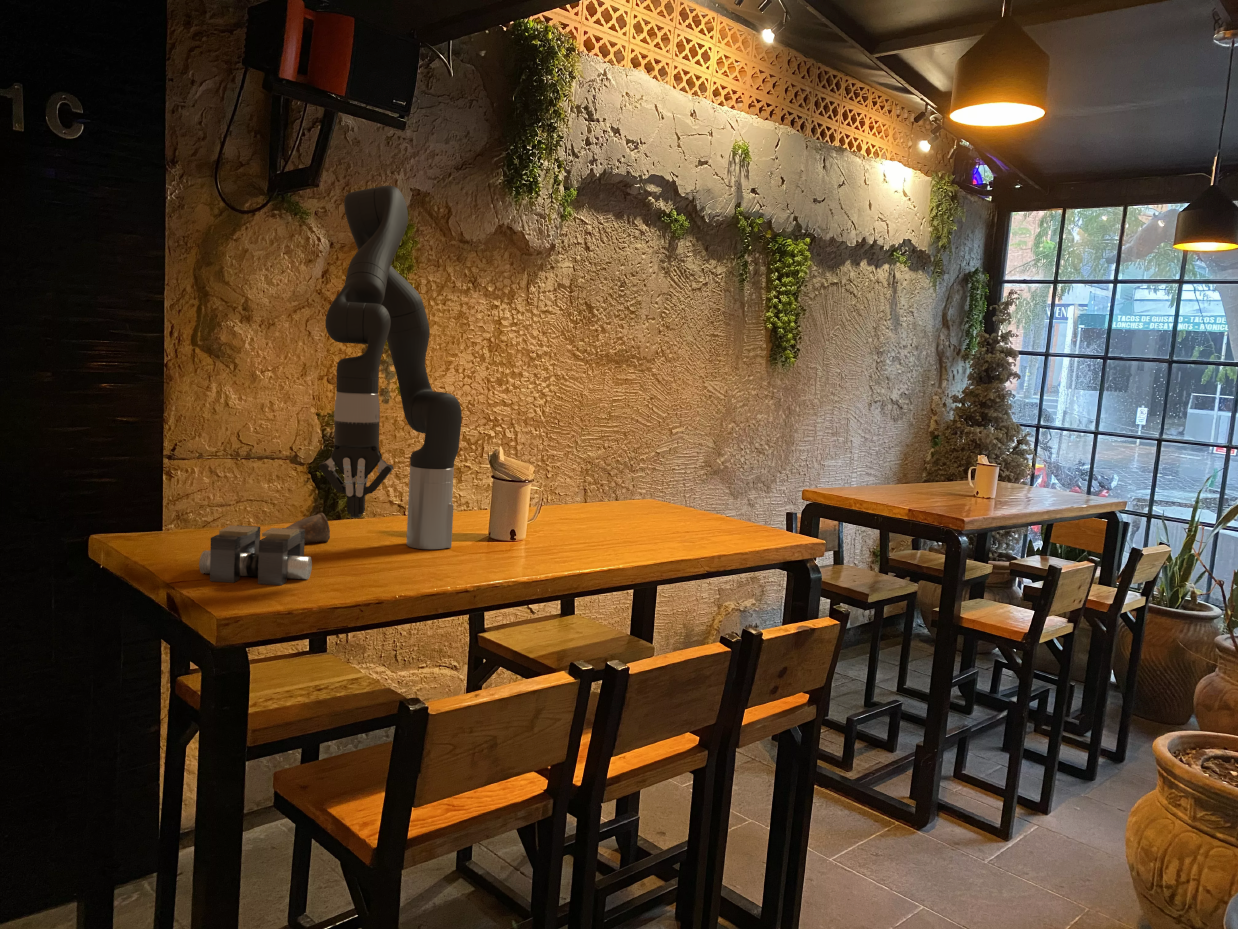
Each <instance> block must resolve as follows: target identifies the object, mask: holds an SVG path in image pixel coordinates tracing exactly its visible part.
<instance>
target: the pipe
mask: <svg viewBox="0 0 1238 929" xmlns="http://www.w3.org/2000/svg"><path fill="white" fill-rule="evenodd" d="M329 524H330V523H329V521H328V518H327V516H326V515H325V514H324V513H323V512H319V513H317V514H315V515H311V516H308V517H305V518H302V519H300V520H297V521H295V522H293V523H291V524H290V525H288V526H287V527H285V528H292V529H305V542H304V545H305V544H315V543H328V542H329V540H330V539H331V538H330V537H331V529H330V525H329Z"/></svg>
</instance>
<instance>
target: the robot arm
mask: <svg viewBox="0 0 1238 929" xmlns="http://www.w3.org/2000/svg"><path fill="white" fill-rule="evenodd" d="M343 200H344V201H343V202H344V204H343V205H344V213H345V217H346V221H347V224H348V227H349V230H350V233H351V236H352V238H353V241H354V243H355V245H356V249H357V251H356V253H355V254H354V256H353V257H352V258H351V260H350V262H349V264H348V267H347V272H346V276H345V282H344V285H343V287H342V288H341V290H340V291H339V293H338V294H337V295H336V297H335V298H334V299H333V301H332V302H331V303H330V306H329V307H328V309H327V313H326V316H325V330H326V333H327V334H328V336H329V337H330V339H331V340H333V341H335V342H337V343H340V344H352V345H353V344H356V345H367V348H366V350H365V351H364V352H363V353H362V354H361V355H358V356H357V355H356V356H350V357H349V356H348V357H345V358H340V359H339V360H338V362H337V364H336V386H335V388H336V390H335V392H336V393H335V394H336V395H335V401H334V411H333V419H334V429H333V430H334V433H333V434H334V435H333V436H334V438H333V445H334V446H333V450H332V452H331V454H330V458H328V459H327V460H326V461H323V462H321V463H320V464H318V469H319V470H320V472H321V473H322V475H324V477H325V478H326V480H327V481H328V482H329V484H330V485H331V486H332V487H333V489H334V490H335V491H336V492H337V493H340V494H341V493H342V494H344V495H345V496H346V513H347V515H350V518H354V519H355V518H356V519H357V518H358V519H359V518H361V517H362V515H363V514H364V513H365V512H366V496H368V495H370V494H373V493H374V492H375V491H376V490H377V489H378V488H379V487H380V485H382V484H383V482H384V481H385V480H386V478H387V477H388V476H389V475H390V474H391V473H392V472H393V470H394V465H392V464H389V463H388V462H386V461H385V460H383V456H382V453H381V450H380V415H381V412H380V410H381V407H380V406H381V405H380V399H379V398H380V396H379V388H380V387H379V384H380V383H379V382H380V381H379V380H380V379H379V377H380V365H381V360H382V357H383V356H382V355H383V352H384V348H385V345H386V342H387V347H388V349H389V353H390V357H391V360H392V364H393V367H394V371H395V374H396V379H397V384H398V388H399V393H400V399H401V406H402V410H403V414H404V418H405V420H406V422H407V425H408V426H409V427H410V428H411V429H412V430H413V431H415V432H417V433H419V434H424V440H423V442H424V443H423V444H422V446H421V447H420V448H419V449H417V450H414V451H412V452H411V454H410V456H409V457H410V460H409V475H408V476H409V479H408V480H409V482H408V484H409V485H408V502H407V523H406V525H407V526H406V527H407V528H406V546H407V547H408V548H413V549H419V550H443V549H451V548H452V544H453V543H452V542H453V540H452V539H453V524H454V503H453V493H454V476H455V474H454V472H455V471H454V470H455V460H456V459H457V458H456V457H458V453H459V448H460V439H461V432H462V431H461V429H462V421H463V420H462V419H463V418H462V414H463V413H462V407H461V404H460V401H459V400H458V398H457V397H456V396H455V395H454V394H452V393H449V392H444V391H434V390H433V388H432V386H431V383H430V380H429V379H430V378H429V376H428V373H427V368H426V358H427V357H426V356H427V351H428V346H429V341H430V333H431V332H430V329H431V328H430V323H429V320H428V315H427V312H426V308H425V305H424V302H423V298H422V297H421V294H420V293H419V292H418V290H416V288H414V286H413V285H412V284H411V283H410V282H409V281H408V280H407V279H406V278H405V277H404V276H402V275H401V274H400V273H399V272H398V271H397V270H396V269H395V268H394V267H393V266H392V263H393V260H394V257H395V255H396V253H397V252H398V249H399V247H400V245H401V243H402V240H403V237H404V235H405V234H406V230H407V227H408V222H409V213H408V206H407V204H406V203H407V202H406V200H405V197H404V195H403V194H402V192H401V190H400V189H399V188H398V187H396V186H394V185H381V186H375V187H370V188H365V189H360V190H354V191H351V192H348V193H346V194H345V197H344V199H343ZM377 466H378V468H377ZM336 468H337V469H338V470H339V472H340V473H341V474H342V475H343V476H344V477H343V478H344V481H343V480H342V478H341V477H340V476H339V475H338V473H337V472H336ZM376 468H377V473H378V475H377V476H376V477H375V478H374V480H373V481H372V482H370V484H369V485H367V483H368V479H369V478H368V477H369V475H371V474H372V472H373V471H374V470H375V469H376Z"/></svg>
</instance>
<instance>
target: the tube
mask: <svg viewBox="0 0 1238 929" xmlns="http://www.w3.org/2000/svg"><path fill="white" fill-rule="evenodd" d="M210 551H211V550H207V549H206V550H203V551H202V553H201V554H200V556H199V564H198V569H199V572H200V573H201V574H204V573H205V574H206V575H208V574H209V575H210ZM258 562H259V554H257V553H240V577H241V576H242V577H257V578H258ZM312 567H313V562H312V557H311V556H308V555H306V556H305V555H304V556H291V555H287V579H290V580H291V579H292V580H293V579H294V580H309V579H310V577H311V574H312V570H313V569H312ZM205 574H204V575H205Z"/></svg>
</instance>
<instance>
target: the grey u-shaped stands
mask: <svg viewBox="0 0 1238 929" xmlns="http://www.w3.org/2000/svg"><path fill="white" fill-rule="evenodd" d="M261 537H263V538H261ZM304 542H305V529H292V528H286V527H281V528H279V527H271V528H270V529H269V528H268V529H266V530H265V531H263V532H262V533H261V526H260V525H259V526H254V525H238V524H237V525H228V526H226V527H224V528H222V529H219V530H218V534H216V535H214V536H211V537H210V550H209V551H210V574H209V582H217V583H233V584H234V583H236V582H237V581H239V580H240V577H241V576H240V553H257V554H259V562H258V577H257V584H258V585H266V586H267V585H268V586H269V585H271V586H272V585H273V586H283V585H284V584H285V583H287V582H288V580H287V579H288V578H287V555H291V556H305V544H304Z"/></svg>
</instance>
